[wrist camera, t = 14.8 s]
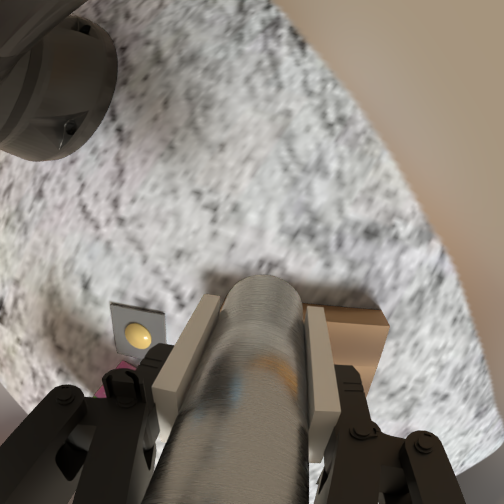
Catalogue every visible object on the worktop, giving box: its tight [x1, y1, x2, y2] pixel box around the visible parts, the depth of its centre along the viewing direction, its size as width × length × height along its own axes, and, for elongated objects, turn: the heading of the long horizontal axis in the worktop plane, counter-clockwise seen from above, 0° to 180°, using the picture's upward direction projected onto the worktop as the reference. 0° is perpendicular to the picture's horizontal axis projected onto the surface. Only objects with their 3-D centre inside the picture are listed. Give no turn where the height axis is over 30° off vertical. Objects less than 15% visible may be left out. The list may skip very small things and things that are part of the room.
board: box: [220, 294, 390, 396], centre depth 28 cm, size 14×14×3 cm
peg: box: [141, 275, 309, 504], centre depth 11 cm, size 4×4×12 cm
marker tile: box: [111, 304, 167, 359], centre depth 31 cm, size 6×6×1 cm
